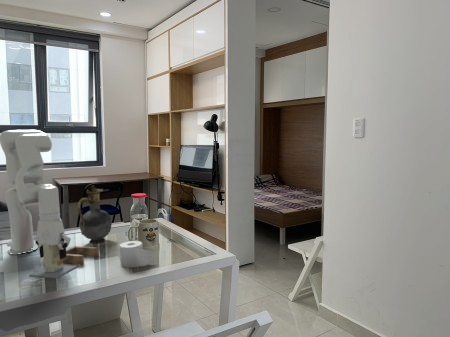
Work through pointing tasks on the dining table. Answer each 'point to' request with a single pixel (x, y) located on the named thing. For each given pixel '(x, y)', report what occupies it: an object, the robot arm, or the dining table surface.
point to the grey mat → (55, 274)
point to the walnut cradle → (79, 254)
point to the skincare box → (52, 258)
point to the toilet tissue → (134, 254)
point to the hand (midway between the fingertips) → (53, 257)
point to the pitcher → (94, 218)
